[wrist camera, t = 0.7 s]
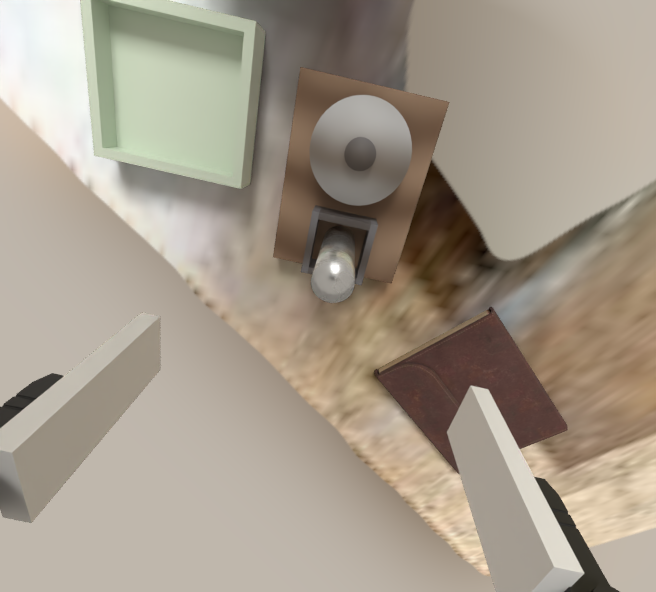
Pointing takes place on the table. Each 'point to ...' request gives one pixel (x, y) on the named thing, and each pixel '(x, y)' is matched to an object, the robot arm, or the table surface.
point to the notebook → (471, 383)
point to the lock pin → (335, 266)
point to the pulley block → (355, 169)
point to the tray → (173, 87)
